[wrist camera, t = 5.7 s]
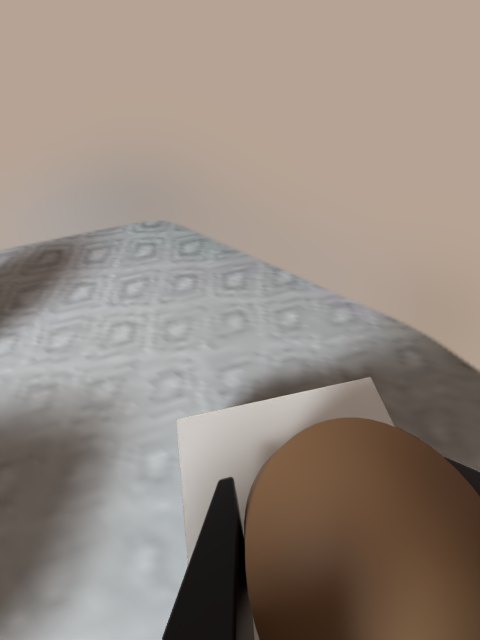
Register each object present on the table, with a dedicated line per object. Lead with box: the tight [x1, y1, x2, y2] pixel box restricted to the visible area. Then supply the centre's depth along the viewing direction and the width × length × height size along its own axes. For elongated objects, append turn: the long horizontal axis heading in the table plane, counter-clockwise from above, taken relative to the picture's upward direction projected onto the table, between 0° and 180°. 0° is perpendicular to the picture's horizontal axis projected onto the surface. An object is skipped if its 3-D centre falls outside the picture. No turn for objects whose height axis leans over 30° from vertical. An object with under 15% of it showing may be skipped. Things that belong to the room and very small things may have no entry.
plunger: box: [244, 417, 480, 640], centre depth 8 cm, size 4×4×9 cm
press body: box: [176, 377, 395, 640], centre depth 11 cm, size 8×8×6 cm
